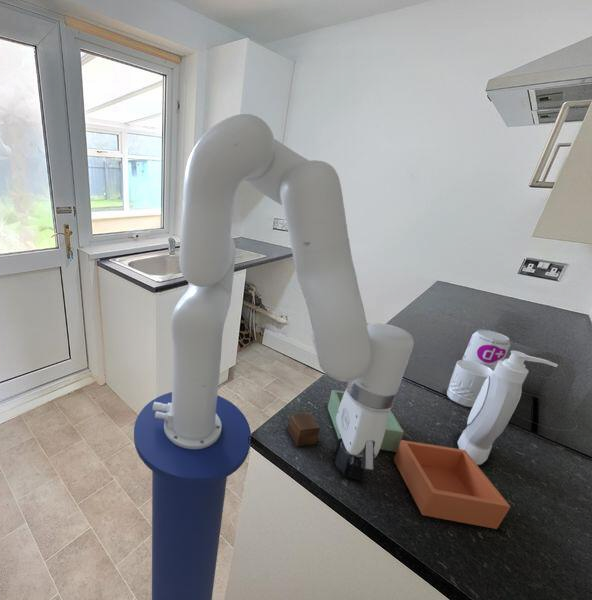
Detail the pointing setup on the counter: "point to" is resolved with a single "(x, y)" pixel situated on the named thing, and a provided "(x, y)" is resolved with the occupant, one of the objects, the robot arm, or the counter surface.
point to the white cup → (467, 382)
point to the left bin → (392, 428)
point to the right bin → (449, 485)
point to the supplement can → (487, 348)
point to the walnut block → (303, 429)
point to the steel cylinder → (344, 457)
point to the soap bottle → (495, 405)
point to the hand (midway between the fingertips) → (347, 465)
